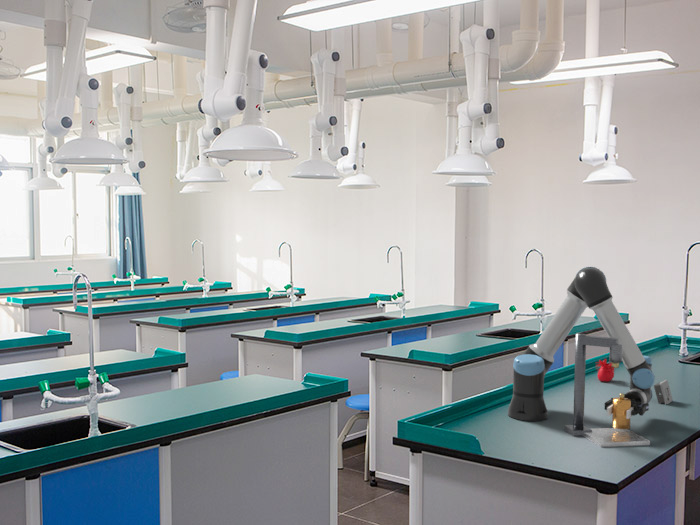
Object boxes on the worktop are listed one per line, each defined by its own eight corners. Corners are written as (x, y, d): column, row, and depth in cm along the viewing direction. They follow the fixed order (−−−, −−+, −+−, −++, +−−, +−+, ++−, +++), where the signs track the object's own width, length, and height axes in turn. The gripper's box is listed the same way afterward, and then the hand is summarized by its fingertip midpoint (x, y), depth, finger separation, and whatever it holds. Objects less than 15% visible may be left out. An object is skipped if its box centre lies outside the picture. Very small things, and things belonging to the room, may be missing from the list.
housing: (610, 427, 247) (611, 394, 246) (613, 423, 252) (614, 391, 252) (628, 430, 244) (629, 396, 243) (631, 426, 249) (632, 393, 248)
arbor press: (591, 447, 233) (594, 341, 231) (564, 430, 252) (567, 332, 251) (649, 445, 236) (653, 340, 235) (619, 428, 256) (622, 332, 254)
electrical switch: (667, 405, 292) (665, 383, 292) (654, 404, 295) (652, 382, 295) (673, 401, 299) (671, 379, 299) (660, 400, 302) (659, 379, 302)
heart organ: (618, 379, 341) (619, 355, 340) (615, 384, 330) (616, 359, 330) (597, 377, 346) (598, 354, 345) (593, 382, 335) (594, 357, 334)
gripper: (660, 414, 257) (645, 428, 238) (607, 406, 268) (590, 419, 249) (661, 394, 257) (646, 407, 238) (608, 387, 268) (590, 398, 249)
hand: (617, 413), depth 244 cm, fingers closed on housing, 6 cm apart
